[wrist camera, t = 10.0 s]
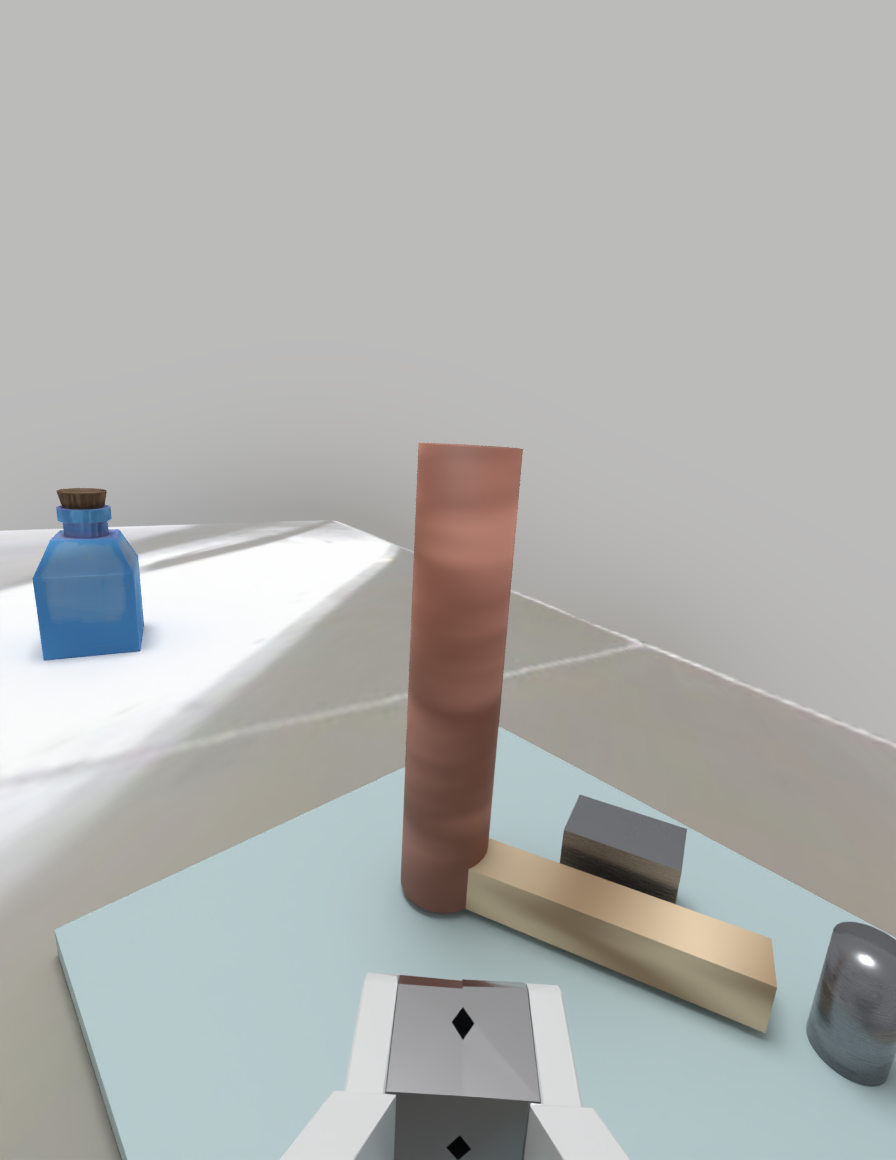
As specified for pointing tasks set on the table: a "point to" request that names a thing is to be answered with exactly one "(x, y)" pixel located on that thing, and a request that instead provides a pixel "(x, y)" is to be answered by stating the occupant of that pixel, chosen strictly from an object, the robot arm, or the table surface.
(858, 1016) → the hinge pin
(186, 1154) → the board
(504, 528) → the brown piece
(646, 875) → the block
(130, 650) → the perfume bottle
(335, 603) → the table surface
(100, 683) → the table surface
